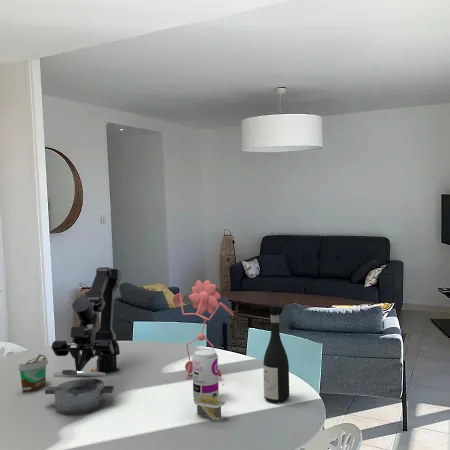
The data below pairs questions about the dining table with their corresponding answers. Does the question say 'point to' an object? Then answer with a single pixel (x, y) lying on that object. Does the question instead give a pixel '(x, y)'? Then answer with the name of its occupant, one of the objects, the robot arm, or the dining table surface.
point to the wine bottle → (276, 364)
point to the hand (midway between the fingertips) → (77, 372)
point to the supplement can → (205, 373)
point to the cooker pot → (79, 396)
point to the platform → (209, 406)
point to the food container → (33, 374)
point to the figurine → (201, 309)
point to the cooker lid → (79, 374)
